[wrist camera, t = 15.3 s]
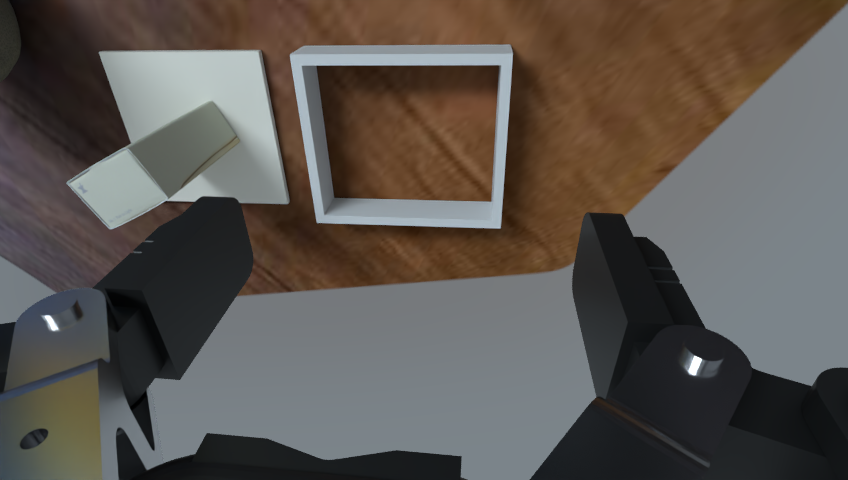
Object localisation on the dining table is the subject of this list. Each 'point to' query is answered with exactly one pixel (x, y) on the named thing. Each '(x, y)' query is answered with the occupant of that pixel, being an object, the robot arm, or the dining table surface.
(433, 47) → the white square frame
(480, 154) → the dining table surface
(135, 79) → the cream tile
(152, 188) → the skincare box
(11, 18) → the cantaloupe
